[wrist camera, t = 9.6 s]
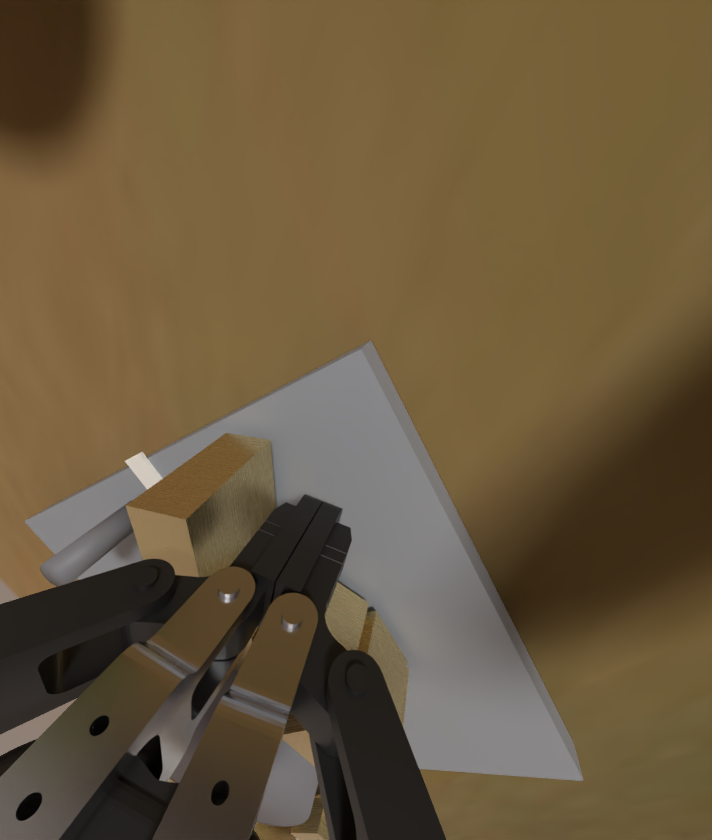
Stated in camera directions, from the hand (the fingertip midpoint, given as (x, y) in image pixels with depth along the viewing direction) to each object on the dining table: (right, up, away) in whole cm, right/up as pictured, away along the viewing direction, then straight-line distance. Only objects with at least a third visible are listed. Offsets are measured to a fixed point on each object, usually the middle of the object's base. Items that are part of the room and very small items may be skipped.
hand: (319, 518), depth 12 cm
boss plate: (-3, -9, +9) cm, 13 cm away
